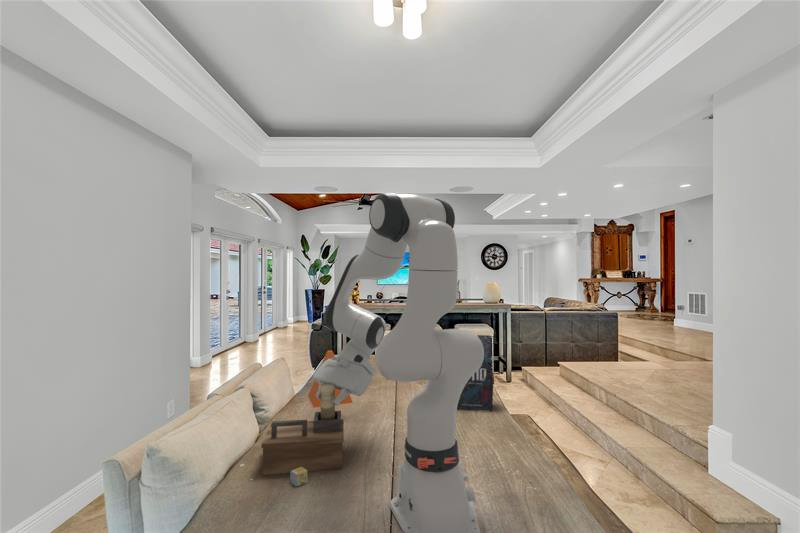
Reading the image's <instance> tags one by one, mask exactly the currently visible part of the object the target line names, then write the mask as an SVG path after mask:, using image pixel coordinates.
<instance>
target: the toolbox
mask: <svg viewBox="0 0 800 533" xmlns="http://www.w3.org/2000/svg"><path fill="white" fill-rule="evenodd" d="M313 418H314V419H313V420H310V421H309V420H308V419H291V420H277V421H276V420H273V421H272V422H271V424H270V425H269V427H268V429H267V431H266V434H265V436H264V438H263V440H262V442H261V443H260V444H261V445H260V446H261V447H260V448H261V449H262V475H263V476H264V475H278V474H290V472H291V471H292V470H295V469H297V468H300V467H303V468H304V469H306V470H307V472H313V471H314V472H315V471H316V472H317V471H328V470H340V469H342V470H343V456H344V455H343V452H344V451H343V449H344V447H343V443H344V441H345V436H344V434H345V432H344V431H345V430H344V427H345V426H344V423H345V422H344V421H345V420H344V418H342V411H341V410H335V419H330V420H321V411H315V412H314V417H313Z"/></svg>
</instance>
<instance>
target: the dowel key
mask: <svg viewBox="0 0 800 533" xmlns="http://www.w3.org/2000/svg"><path fill="white" fill-rule="evenodd" d="M334 397H335V384H333V383H323V384H321V407H320V412H321V420H330V419H335V411H336V405H334V404H333V403H332V400H333V399H334Z"/></svg>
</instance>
